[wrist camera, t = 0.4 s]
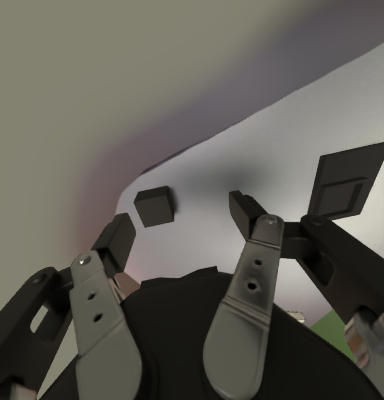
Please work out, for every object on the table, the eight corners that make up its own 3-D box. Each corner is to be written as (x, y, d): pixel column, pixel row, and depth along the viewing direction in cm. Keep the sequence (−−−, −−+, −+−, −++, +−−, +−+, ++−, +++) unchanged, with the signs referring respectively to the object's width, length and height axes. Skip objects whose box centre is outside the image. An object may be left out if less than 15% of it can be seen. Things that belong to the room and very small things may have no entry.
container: (312, 313, 60) (317, 321, 58) (294, 327, 65) (299, 335, 63) (270, 310, 56) (274, 318, 54) (254, 325, 61) (258, 333, 58)
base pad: (320, 155, 28) (331, 158, 26) (383, 142, 28) (400, 144, 26) (305, 222, 36) (313, 228, 34) (354, 211, 36) (365, 217, 34)
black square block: (138, 191, 28) (133, 202, 25) (167, 185, 28) (165, 195, 25) (148, 215, 31) (144, 227, 28) (174, 209, 31) (174, 221, 28)
